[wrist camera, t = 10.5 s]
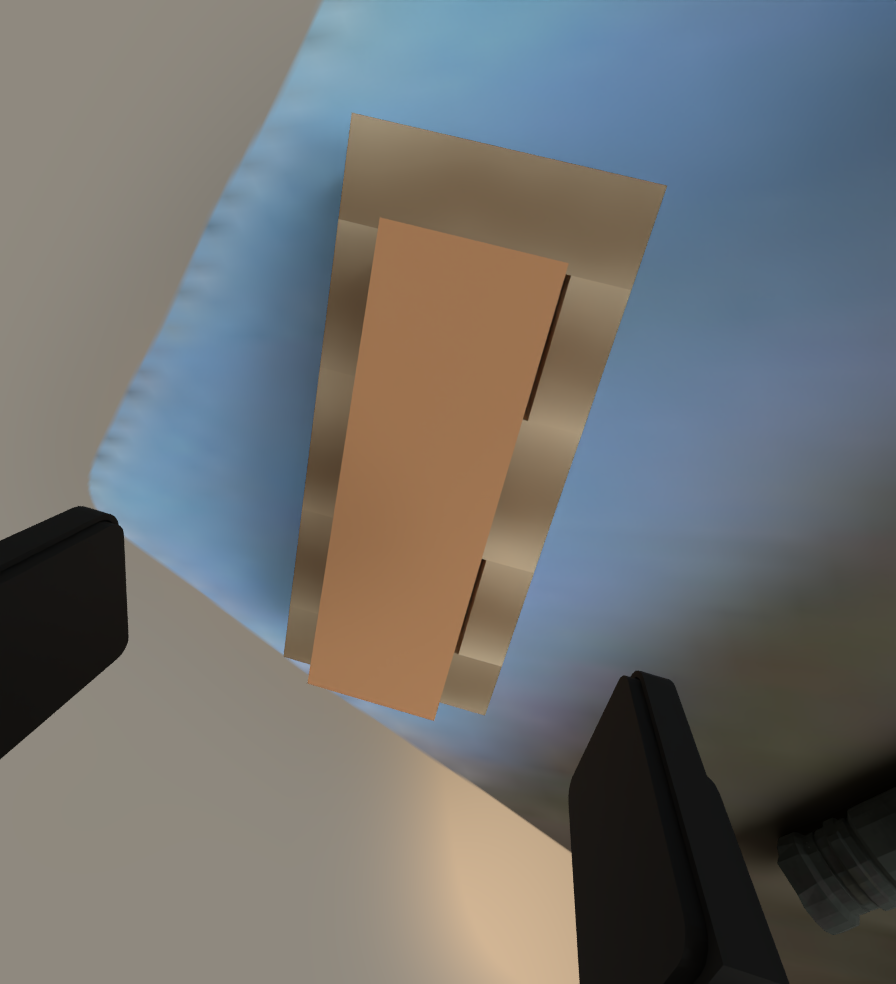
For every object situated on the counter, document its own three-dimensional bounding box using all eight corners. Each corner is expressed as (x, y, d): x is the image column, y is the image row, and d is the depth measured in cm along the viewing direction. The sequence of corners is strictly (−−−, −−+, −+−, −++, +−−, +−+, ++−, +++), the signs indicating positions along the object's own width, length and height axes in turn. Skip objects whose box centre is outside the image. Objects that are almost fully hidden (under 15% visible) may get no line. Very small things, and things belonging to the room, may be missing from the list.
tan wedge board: (432, 249, 20) (379, 217, 13) (551, 279, 20) (568, 263, 12) (368, 576, 26) (307, 683, 19) (459, 601, 26) (433, 720, 18)
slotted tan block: (385, 150, 19) (351, 112, 15) (638, 209, 19) (667, 185, 15) (316, 609, 27) (283, 656, 24) (490, 658, 27) (484, 715, 23)
